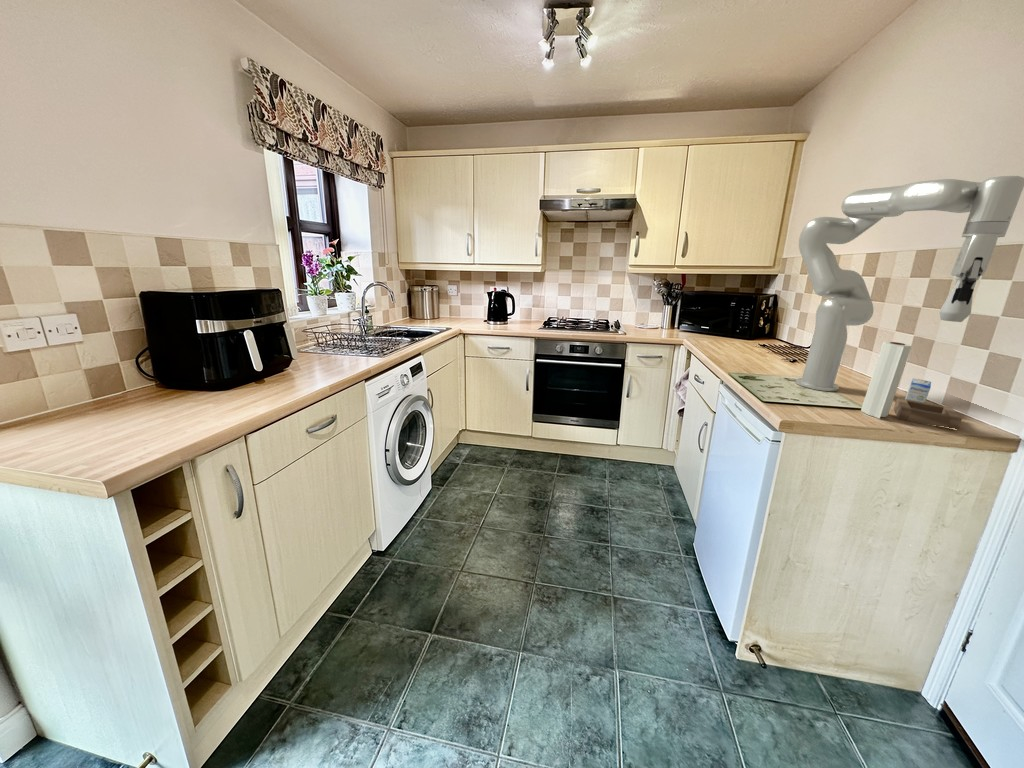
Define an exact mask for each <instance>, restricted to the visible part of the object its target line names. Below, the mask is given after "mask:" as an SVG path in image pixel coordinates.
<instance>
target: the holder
mask: <svg viewBox="0 0 1024 768" xmlns="http://www.w3.org/2000/svg"><path fill="white" fill-rule="evenodd" d="M893 411H894V412H895V413H894V414H895V415H896V417H897V419H898V420H899V421H900V420H901V421H904V422H905V421H906V422H910V421H912V422H911V423H915V422H916V423H917V424H920V423H923V424H922V425H925V424H929V425H928V426H930V425H936V426H944V427H949V428H955V429H958V430H959V427H960V425H961V423H962V420H963V418H962V417H961V416H960V415H959V414H958V413H957V412H956V410H955V409H954V408H953V407H950V406H945V405H940V404H931V403H929V402H925V403H923V402H917V401H911V400H906V399H905V398H904V399H903V398H900V397H897V398H896V400H895V403H894V406H893Z"/></svg>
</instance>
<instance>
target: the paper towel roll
mask: <svg viewBox="0 0 1024 768" xmlns="http://www.w3.org/2000/svg"><path fill="white" fill-rule="evenodd" d="M911 350H912V345H911V344H908V343H903V342H895V341H883V342H882V345H881V348H880V350H879V353H878V356H877V360H876V363H875V366H874V369H873V372H872V376H871V378H870V381H869V385H868V388H867V390H866V394H865V396H864V399H863V403H862V406H861V409H860V410H861V411H860V412H861V413H863V414H866V415H868V416H870V417H875V419H879V420H880V419H881V418H886V417H888V415H889V412H890V410H891V406H892V405H893V401H894V399H895V396H896V393H897V390H898V386H899V384H900V381H901V379H902V375H903V372H904V370H905V367H906V364H907V362H908V358H909V355H910V351H911Z"/></svg>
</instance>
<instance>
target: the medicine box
mask: <svg viewBox="0 0 1024 768" xmlns="http://www.w3.org/2000/svg"><path fill="white" fill-rule="evenodd" d="M909 384H910V385H909V387H908V390H907V393H906V395H905V398H904V399H906V400H911V401H917V402H923V403H926V401H927V397H928V396H929V393H930V391H931V387H932V386H931V385H932V381H930V380H925V379H919V378H912V380H911V382H910V383H909Z"/></svg>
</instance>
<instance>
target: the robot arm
mask: <svg viewBox="0 0 1024 768" xmlns="http://www.w3.org/2000/svg"><path fill="white" fill-rule="evenodd" d="M1023 190H1024V176H1021V175H1003V176H994V177H990V178H989V177H988V178H986V179H984V180H983V181H981V182H979V181H971V180H970V181H969V180H963V179H956V178H943V179H934V180H933V179H932V180H924V181H922V180H921V181H915V182H911V183H907V184H904V185H896V186H895V185H894V186H886V187H876V188H875V187H874V188H866V189H859V190H856V191H854V192H851V193H849V194H848V195H847V196H845V198H844V199H843V200H842V202H841V206H840V207H841V208H840V209H841V213H843V214H844V215H845V216H846V218H844V217H843V218H842V217H835V216H833V217H832V216H820V217H816V218H813V219H811V220H810V221H808V222H807V223H806V224H805V225H804V227H803V228H802V230H801V232H800V234H799V237H798V249H799V253H800V255H801V258H802V260H803V262H804V264H805V265H804V266H805V267H806V271H807V274H808V277H809V280H810V283H811V287H812V290H813V291H814V293H815V295H817V296H819V297H823V298H827V299H825V300H824V301H822V302H821V303H820V304H819V305H818V307H817V309H816V312H815V323H814V324H815V326H814V331H813V335H812V340H811V344H810V346H809V347H810V348H809V351H808V354H807V357H806V361H805V366H804V369H803V372H802V376H801V377H799V378H797V379H795V383H796V384H797V385H799V386H801V387H803V388H807V389H812V390H817V391H824V392H836V391H838V390H839V387H840V386H838V385H837V384H835V381H836V379H837V375H838V373H839V372H838V371H839V368H840V365H841V362H842V359H843V355H844V352H845V348H846V345H847V341H848V328H847V326H852V327H853V326H861V325H864V324H866V323H868V322H869V321H870V320H871V318H872V317H873V314H874V309H875V308H874V304H873V300H872V299H871V298H872V297H871V295H870V293H869V289H868V288H867V285H866V281H865V280H864V278H863V276H862V275H861V274H860V273H858V272H857V271H855V270H851V269H842V268H841V267H840V266H839V263H838V262H837V258H836V255H835V254H834V252H833V251H832V249H831V248H830V247H829V246H828V245H831V244H832V245H833V244H834V245H845V244H847V243H850V242H852V241H854V240H856V238H858V237H859V236H860V235H862V234H863V233H866V231H868V230H869V229H871V228H872V227H873V226H874V225H876V224H877V223H878V222H880V221H881V220H883V219H884V218H895V217H899V216H901V215H903V214H904V213H906V212H920V211H936V212H937V211H939V212H946V213H947V212H948V213H955V214H963V213H964V214H965V213H969V214H968V216H967V220H966V222H965V226H964V228H963V231H962V233H961V237H962V238H965V239H964V241H963V242H962V245H961V247H960V250H959V252H958V255H957V257H956V261H955V262H954V266H953V268H952V269H951V272H950V274H951V276H955V277H956V276H959V275H960V274H961V273H963V275H962V277H961V280H960V283H959V286H958V288H956V290H955V293H954V296H953V298H952V301H951V303H952V304H953V303H954V302H955V301H956V300H958V301H966V305H968V304H969V302H970V299H971V296H972V294H973V293H974V291H975V287H976V284H977V281H978V280H977V279H978V277H979V274H980V277H982V276H984V275H985V273H986V272H987V269H988V268H989V264H990V262H991V259H992V257H993V253H994V252H995V248H996V245H997V243H998V239H999V238H1005V237H1006V234H1007V232H1008V229H1009V226H1010V224H1011V221H1012V218H1013V216H1014V213H1015V212H1016V208H1017V205H1018V203H1019V200H1020V198H1021V196H1022V192H1023ZM827 244H828V245H827ZM966 273H970V275H969V276H965V275H966ZM957 281H958V280H956V281H955V284H956V283H957ZM973 295H974V294H973ZM972 297H973V296H972Z"/></svg>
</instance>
